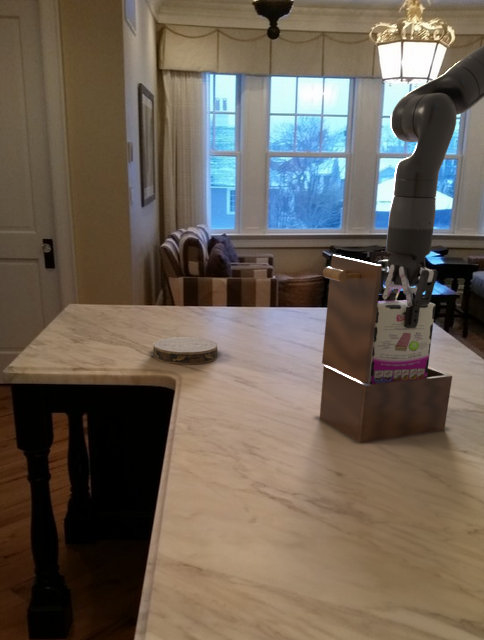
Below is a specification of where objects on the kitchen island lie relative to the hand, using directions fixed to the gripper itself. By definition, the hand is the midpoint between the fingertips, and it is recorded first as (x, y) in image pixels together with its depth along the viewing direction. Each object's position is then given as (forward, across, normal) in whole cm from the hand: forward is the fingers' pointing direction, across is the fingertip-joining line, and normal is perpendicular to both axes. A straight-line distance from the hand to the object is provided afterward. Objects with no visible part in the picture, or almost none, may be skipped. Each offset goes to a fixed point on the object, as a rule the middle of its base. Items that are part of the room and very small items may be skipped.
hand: (399, 323), depth 125 cm
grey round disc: (+19, +60, +18) cm, 65 cm away
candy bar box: (+13, 0, 0) cm, 13 cm away
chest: (+19, 0, +2) cm, 19 cm away
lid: (-2, 0, +10) cm, 10 cm away
